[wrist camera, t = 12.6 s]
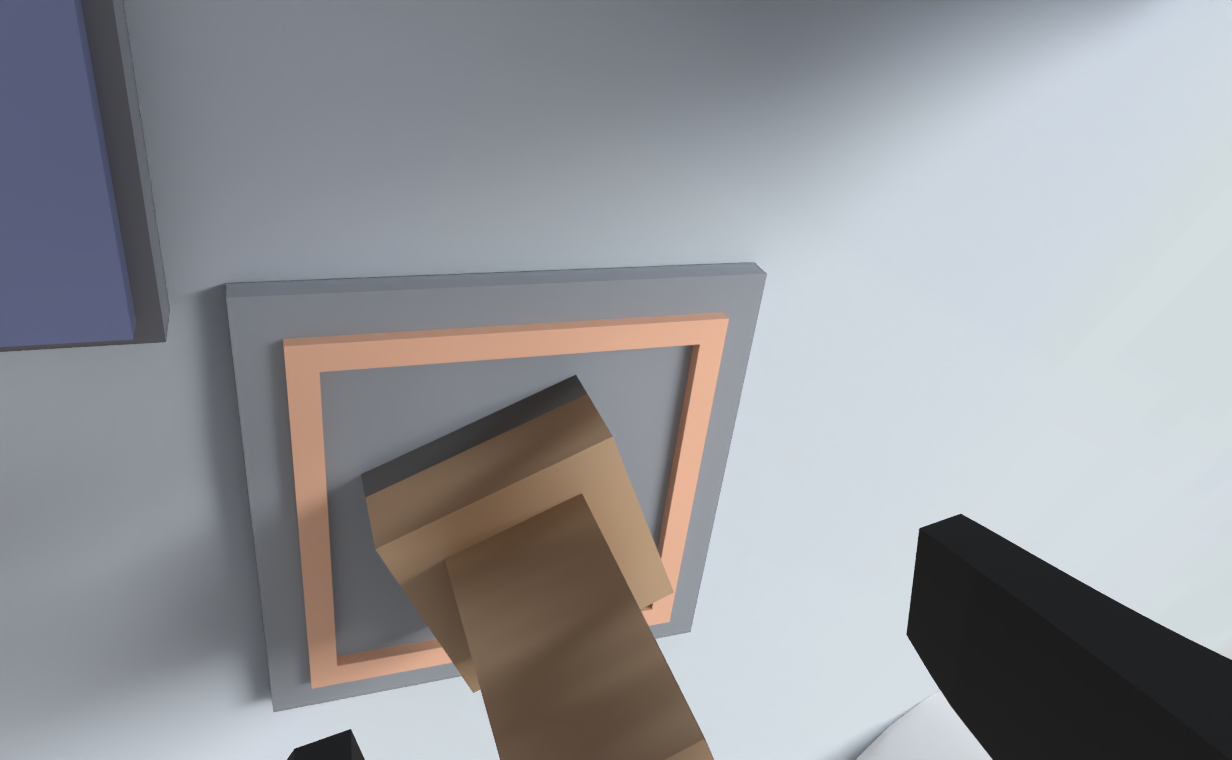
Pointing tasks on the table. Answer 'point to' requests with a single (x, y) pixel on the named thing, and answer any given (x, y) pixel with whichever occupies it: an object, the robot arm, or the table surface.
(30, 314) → the ink pad
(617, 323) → the board
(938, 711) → the honey pot
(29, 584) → the table surface
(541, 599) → the stamp
